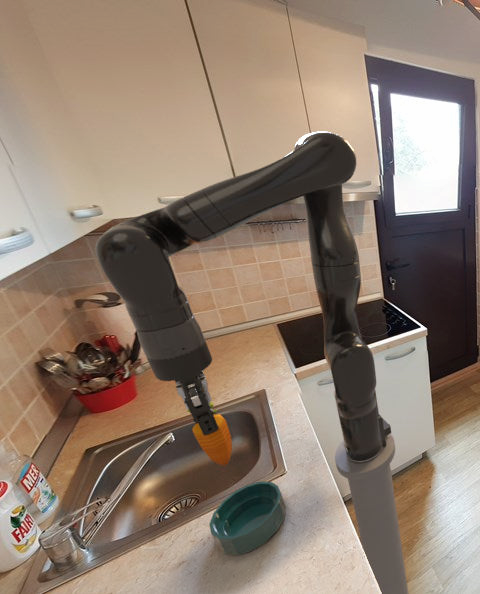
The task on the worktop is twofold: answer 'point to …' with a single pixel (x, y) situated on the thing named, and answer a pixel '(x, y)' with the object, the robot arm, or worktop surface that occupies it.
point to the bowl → (248, 518)
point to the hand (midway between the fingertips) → (209, 423)
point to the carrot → (215, 440)
